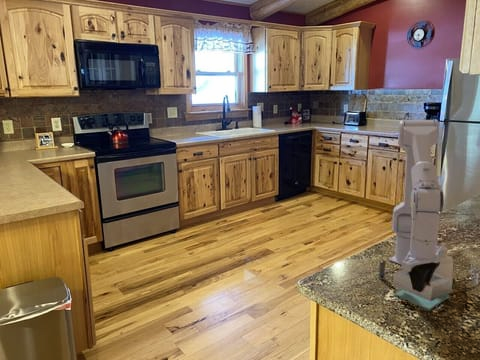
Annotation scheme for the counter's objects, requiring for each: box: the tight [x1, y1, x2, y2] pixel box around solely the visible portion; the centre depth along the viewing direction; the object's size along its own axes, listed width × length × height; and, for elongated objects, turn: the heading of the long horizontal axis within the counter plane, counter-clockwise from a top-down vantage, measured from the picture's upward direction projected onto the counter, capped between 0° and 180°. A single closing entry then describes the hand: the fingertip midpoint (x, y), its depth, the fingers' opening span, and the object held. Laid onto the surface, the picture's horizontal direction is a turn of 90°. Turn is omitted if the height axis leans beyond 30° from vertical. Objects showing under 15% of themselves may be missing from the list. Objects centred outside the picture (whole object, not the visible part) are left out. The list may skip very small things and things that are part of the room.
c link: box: [392, 269, 454, 301], centre depth 96 cm, size 10×10×4 cm
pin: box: [378, 259, 387, 279], centre depth 107 cm, size 2×2×5 cm
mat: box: [395, 289, 450, 312], centre depth 97 cm, size 10×9×1 cm
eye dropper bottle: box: [434, 242, 454, 279], centre depth 102 cm, size 4×6×12 cm
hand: (420, 288), depth 93 cm, fingers closed on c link, 2 cm apart
